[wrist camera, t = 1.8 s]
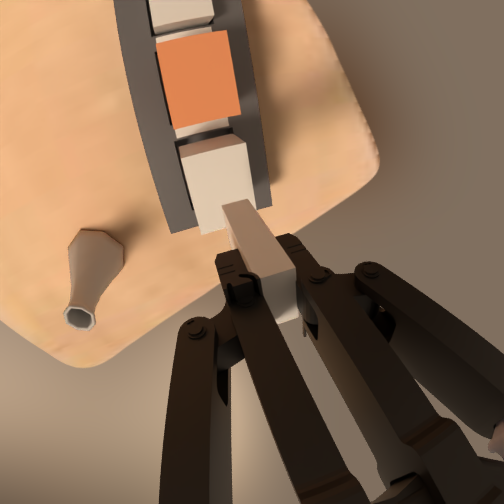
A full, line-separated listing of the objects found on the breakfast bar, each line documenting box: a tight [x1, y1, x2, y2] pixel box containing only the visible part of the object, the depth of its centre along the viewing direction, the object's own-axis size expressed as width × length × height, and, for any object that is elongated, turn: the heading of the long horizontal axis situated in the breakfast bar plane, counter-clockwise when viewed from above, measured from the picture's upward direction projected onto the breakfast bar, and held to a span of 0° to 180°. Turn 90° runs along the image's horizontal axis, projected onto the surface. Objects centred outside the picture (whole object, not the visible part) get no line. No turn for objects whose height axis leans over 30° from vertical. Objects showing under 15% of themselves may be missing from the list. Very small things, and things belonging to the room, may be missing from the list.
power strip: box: [114, 0, 272, 234], centre depth 18 cm, size 32×10×4 cm, turn 8°
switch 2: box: [156, 30, 241, 130], centre depth 16 cm, size 6×4×4 cm
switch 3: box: [179, 134, 257, 235], centre depth 21 cm, size 6×4×4 cm
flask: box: [63, 230, 124, 331], centre depth 24 cm, size 7×7×10 cm
